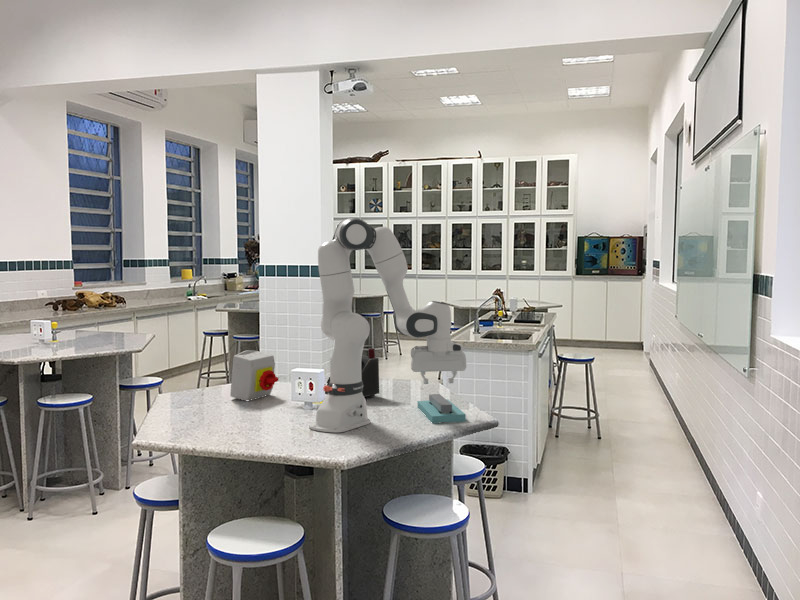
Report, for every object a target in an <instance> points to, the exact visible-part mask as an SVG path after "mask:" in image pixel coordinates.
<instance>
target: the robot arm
mask: <svg viewBox="0 0 800 600" xmlns="http://www.w3.org/2000/svg"><path fill="white" fill-rule="evenodd" d="M361 250H366V251H367V253H368V254H369V256H370V257H371V260H372V262H373V265H374V267H375V269H376V271H377V273H378V275H379V277H380V279H381V282H382V284H383V286H384V288H385V291H386V293H387V296H388V299H389V301H390V304H391V307H392V311H393V322H394V328H395V330H396V331H397V332H398V334H401V335H402V336H405V337H411V338H416V339H420V338H424V337H426V345H421V346H420V345H416V346H414V347H412V348H411V350H410V357H411V361H410V369H411V371H412V372H413V373H414V372H415V373H420V376H421V378H422V381H423V385H429V378H426V376H425V375H426V373H429V372H432V373H433V372H451V374H452V375H450V376H451V377H448V379H447V380H448V384H454V382H455V381H454V379H455V378H456V376H457V372H464V371H466V369H467V358H466V353H465V352H464V350H465V348H464V345H463V344H461V343H458V342H455V341H452V335H451V328H452V313H451V312H452V311H451V307H450V305H449V304H448V303H447V302H441V301H436V300H431V301H429V302H428V303H427V304H425V305H424V306H422V307H420V308H417V309H416V310H415V309H414V308H413V307H412V306H411V304H410V302H409V299H408V296H407V294H406V291H405V287H404V279H405V276H406V275H407V273H408V268H409V267H408V262H407V259H406V256H405V253H404V251H403V249H402V247H401V245H400V242H399V241H398V239H397V237H396V235H395V234H394V233H393V231H392V229H390V228H389V227H387V226H378V227H375V228H373V226H371V225H370V224H368V223H367V221H365V220H362V219H360V218H358V217H346V218H345V219H343V220H342V221H340V222H339V223H338V225H337V227H336V229H335V231H334V235H333V236H332V240H329V241H325V242H324V243H322V244H320V245H319V248H318V251H317V267H318V273H319V278H320V279H319V280H320V286H321V291H322V300H323V302H322V303H323V304H322V318H321V321H320V328H321V331H322V333H323V334H324V335H325V336H326V337H327V338H328V339H330V340H333V341H334V347H333V351H332V352H333V353H332V356H331V357H330V360H329V377H330V382H329V386H326V385H323V389H322V390H323V392H325V391H327V393H328V394H326V396H325V398H324V399H323V401H322V402H321V403H320V405H319V407H318V408H317V409H316V415H315V417H316V418H315V421H314V422H313V423H312V422H311V424H309V427H308V428H309V429H310V430H313V431H318V432H325V433H344V432H348V431H351V430H354V429H356V428H360V427H363V426H366V425H370V424H371V419H369V418H368V417H369V416H368V407H367V401H366V398H365V397H364V396H363V393H362V391H363V381H362V376H361V359H362V355H363V352H364V346H365V343H366V340H367V339H368V337H369V335H370V331H371V326H370V322H369V321H368V320H367V319H366V318H365V317H364V316H362V315H361V314H359V313H358V312H357V313H356V312H353V308H352V306H353V299H354V298H353V297H354V295H355V285H354V280H353V274H352V267H351V263H350V256H351V253H352V252H353V251H361Z"/></svg>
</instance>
